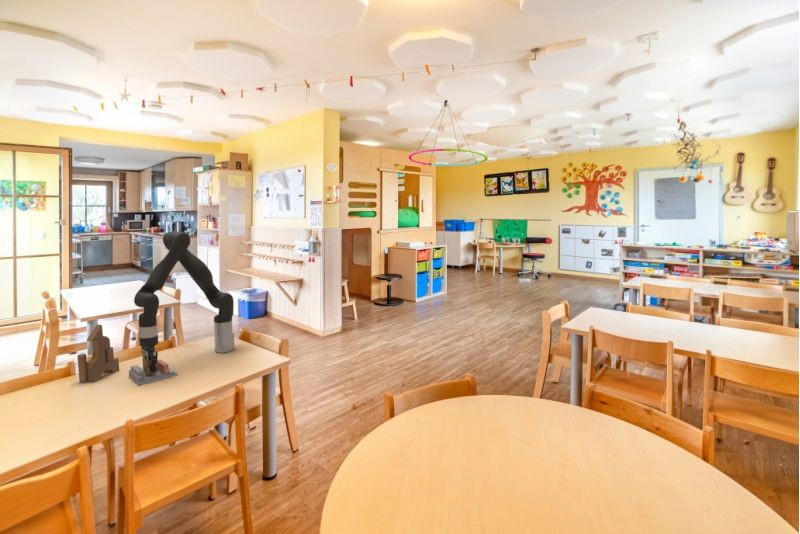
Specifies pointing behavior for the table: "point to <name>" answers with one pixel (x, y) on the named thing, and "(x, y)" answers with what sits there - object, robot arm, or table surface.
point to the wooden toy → (97, 358)
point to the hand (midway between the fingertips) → (150, 369)
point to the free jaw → (163, 367)
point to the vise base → (142, 378)
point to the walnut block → (148, 366)
